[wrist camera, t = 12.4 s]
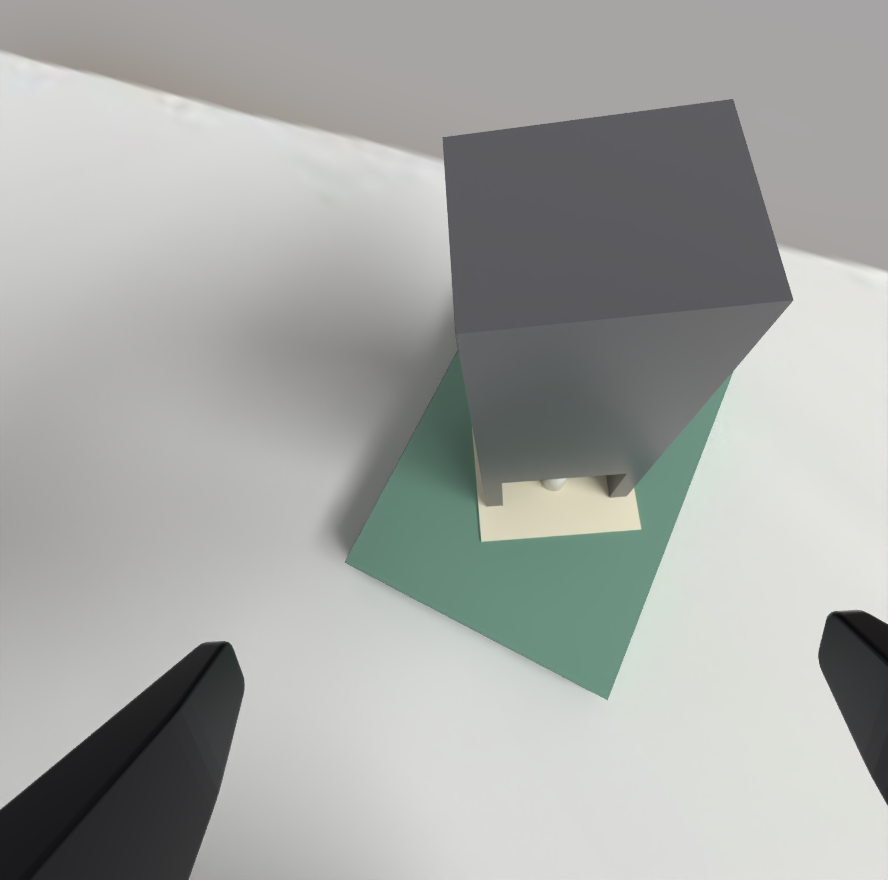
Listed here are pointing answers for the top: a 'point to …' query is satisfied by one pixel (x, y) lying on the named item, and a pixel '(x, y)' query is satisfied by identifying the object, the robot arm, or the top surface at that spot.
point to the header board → (527, 542)
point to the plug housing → (604, 286)
